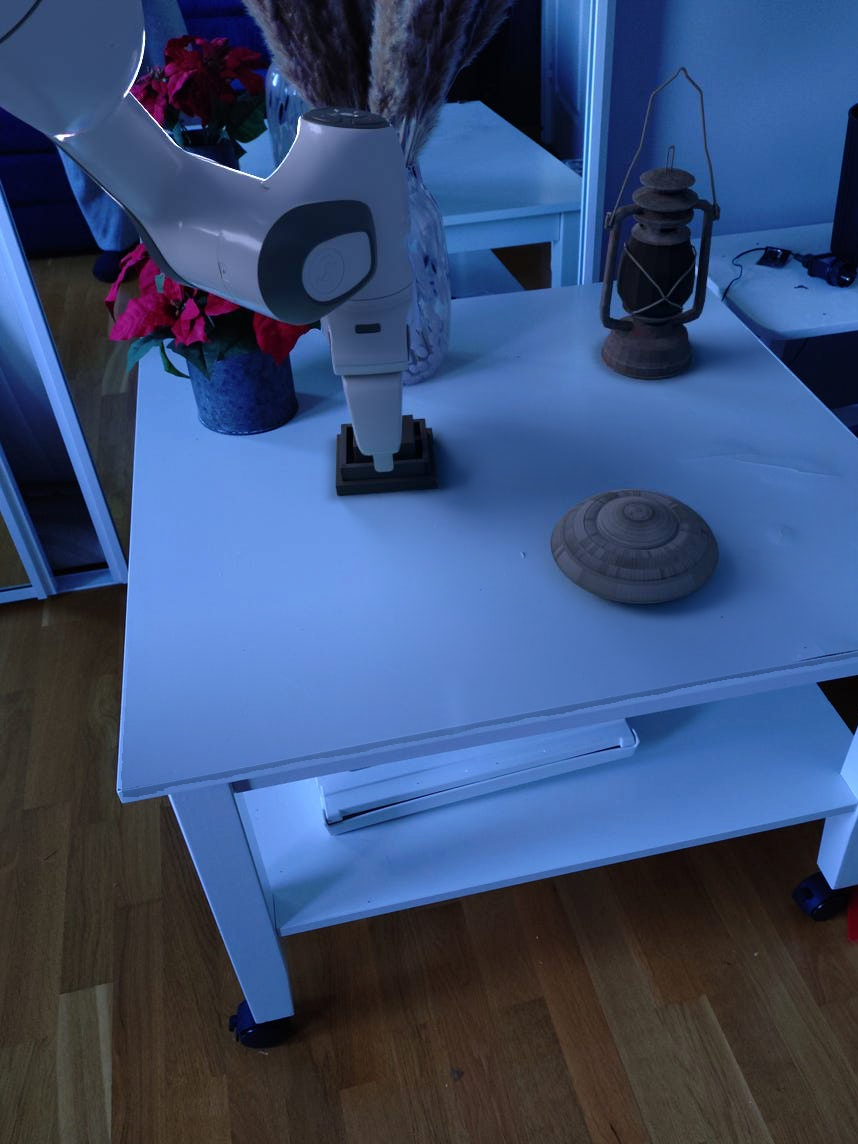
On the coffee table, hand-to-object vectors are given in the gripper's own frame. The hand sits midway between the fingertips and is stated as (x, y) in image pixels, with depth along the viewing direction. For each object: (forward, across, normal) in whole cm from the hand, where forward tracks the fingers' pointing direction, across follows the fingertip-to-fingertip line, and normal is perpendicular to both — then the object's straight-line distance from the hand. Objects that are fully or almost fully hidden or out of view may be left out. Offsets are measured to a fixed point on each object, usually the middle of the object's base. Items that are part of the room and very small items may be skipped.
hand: (383, 439), depth 93 cm
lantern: (+3, -18, +31) cm, 36 cm away
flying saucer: (+3, +17, +22) cm, 28 cm away
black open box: (+3, 0, 0) cm, 3 cm away
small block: (+2, 0, 0) cm, 2 cm away
